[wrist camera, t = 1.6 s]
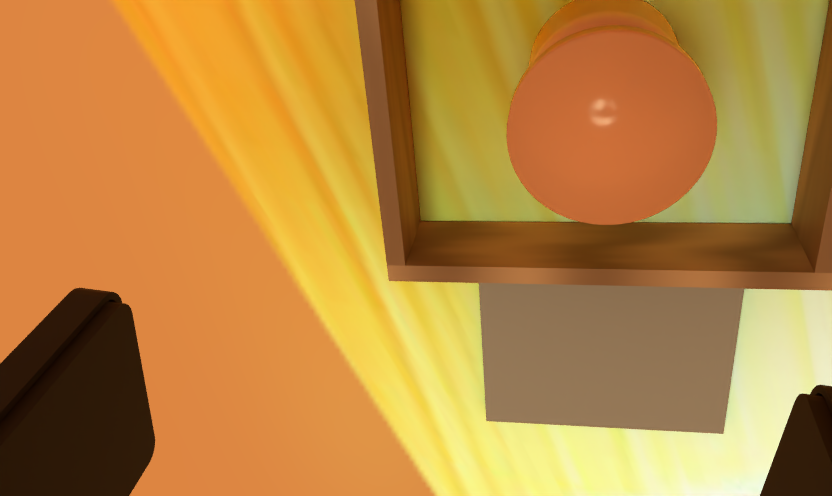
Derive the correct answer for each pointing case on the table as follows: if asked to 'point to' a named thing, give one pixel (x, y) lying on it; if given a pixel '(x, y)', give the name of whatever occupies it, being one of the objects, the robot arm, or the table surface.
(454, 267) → the frame
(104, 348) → the robot arm
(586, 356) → the mat
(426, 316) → the table surface
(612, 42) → the terracotta pot
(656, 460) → the table surface
